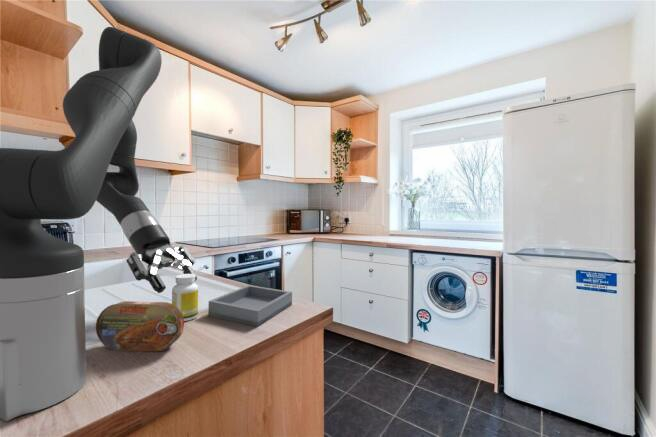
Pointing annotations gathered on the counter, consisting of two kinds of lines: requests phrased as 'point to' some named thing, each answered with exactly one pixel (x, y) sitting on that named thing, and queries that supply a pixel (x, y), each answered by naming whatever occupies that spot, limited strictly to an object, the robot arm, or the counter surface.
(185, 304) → the supplement bottle
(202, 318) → the counter surface
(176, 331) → the tin
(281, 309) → the tray
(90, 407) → the counter surface
